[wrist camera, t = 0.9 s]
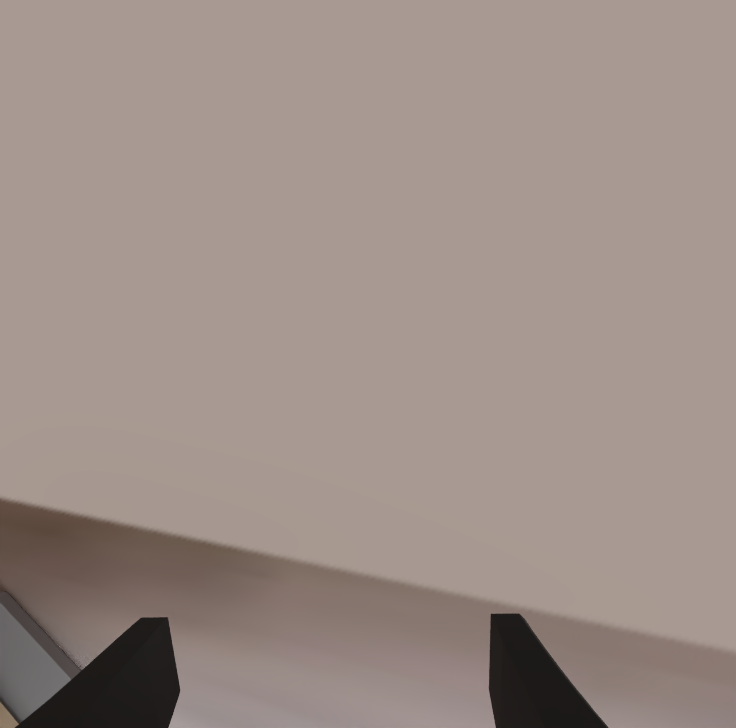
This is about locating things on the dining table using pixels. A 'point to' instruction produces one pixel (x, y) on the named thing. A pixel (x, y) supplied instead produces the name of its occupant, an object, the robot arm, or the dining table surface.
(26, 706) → the board
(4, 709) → the link
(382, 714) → the dining table surface
